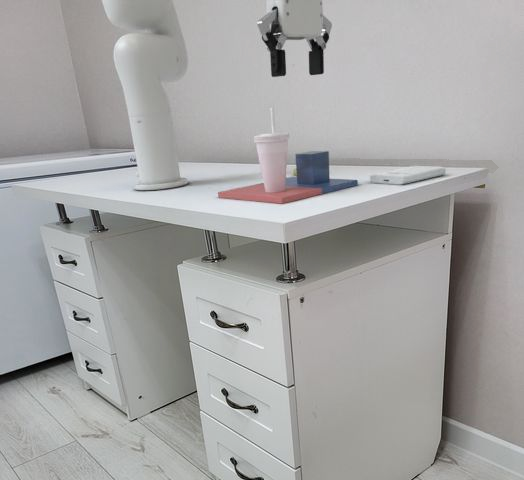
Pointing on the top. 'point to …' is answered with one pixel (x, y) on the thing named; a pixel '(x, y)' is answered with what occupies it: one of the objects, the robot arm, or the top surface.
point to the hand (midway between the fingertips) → (298, 75)
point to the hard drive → (407, 175)
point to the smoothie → (273, 157)
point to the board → (286, 191)
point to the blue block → (312, 167)
